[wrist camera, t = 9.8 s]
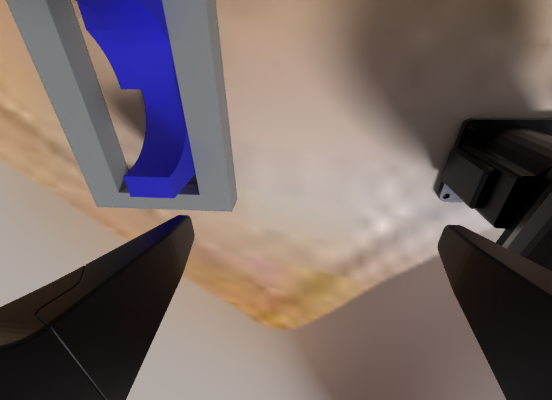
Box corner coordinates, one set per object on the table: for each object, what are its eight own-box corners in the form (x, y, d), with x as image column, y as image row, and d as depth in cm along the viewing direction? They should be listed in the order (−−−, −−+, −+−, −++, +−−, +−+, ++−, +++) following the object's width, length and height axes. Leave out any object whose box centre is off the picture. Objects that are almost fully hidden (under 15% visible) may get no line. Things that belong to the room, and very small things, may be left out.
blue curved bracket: (104, -18, 16) (10, -49, 11) (173, -21, 16) (110, -55, 10) (154, 161, 22) (109, 196, 17) (204, 162, 22) (174, 198, 17)
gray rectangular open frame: (205, -87, 14) (191, -106, 12) (237, 199, 23) (231, 211, 21) (4, -74, 15) (-34, -90, 13) (111, 195, 24) (97, 206, 22)
